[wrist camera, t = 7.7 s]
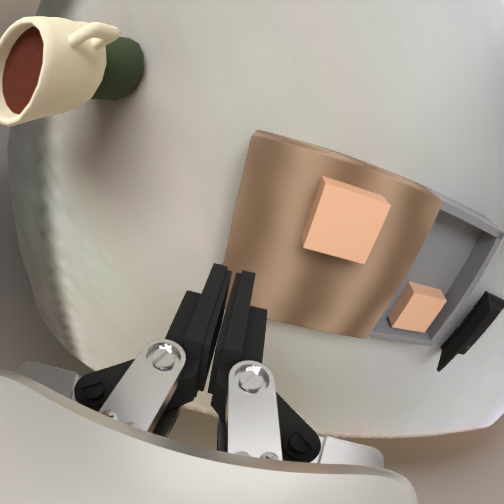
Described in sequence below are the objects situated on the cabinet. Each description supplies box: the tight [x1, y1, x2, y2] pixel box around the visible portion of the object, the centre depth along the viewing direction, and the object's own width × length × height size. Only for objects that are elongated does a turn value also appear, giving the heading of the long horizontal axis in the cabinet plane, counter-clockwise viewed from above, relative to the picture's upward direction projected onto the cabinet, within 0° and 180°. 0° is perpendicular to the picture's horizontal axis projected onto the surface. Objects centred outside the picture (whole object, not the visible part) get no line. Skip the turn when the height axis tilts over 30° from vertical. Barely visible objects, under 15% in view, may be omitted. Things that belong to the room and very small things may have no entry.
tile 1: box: [388, 281, 447, 333], centre depth 27 cm, size 5×5×2 cm
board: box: [223, 130, 443, 339], centre depth 25 cm, size 16×16×4 cm
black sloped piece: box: [437, 291, 504, 371], centre depth 28 cm, size 12×7×10 cm
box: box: [368, 186, 504, 346], centre depth 25 cm, size 10×16×4 cm, turn 167°
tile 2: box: [302, 176, 391, 264], centre depth 20 cm, size 5×5×2 cm
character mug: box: [0, 16, 143, 127], centre depth 14 cm, size 11×7×13 cm, turn 101°
